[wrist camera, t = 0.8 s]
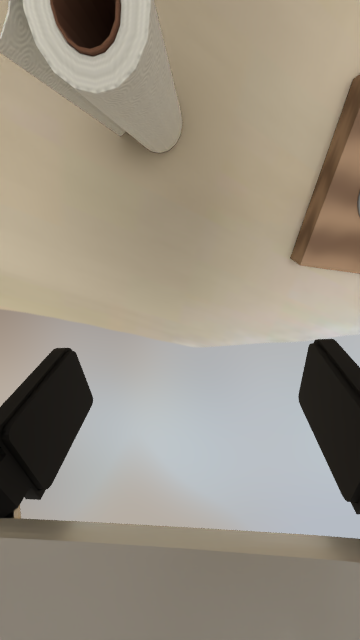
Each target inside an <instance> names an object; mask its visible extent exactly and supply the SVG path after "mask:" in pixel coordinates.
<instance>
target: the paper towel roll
mask: <svg viewBox="0 0 360 640" xmlns="http://www.w3.org/2000/svg"><path fill="white" fill-rule="evenodd" d="M0 53H2V54H3V55H4V56H6V57H7V58H9V59H10V60H12V61H13V62H14V63H16V64H17V65H19V66H20V67H22V68H23V69H24V70H26V71H27V72H29V73H30V74H32V75H33V76H34V77H36V78H37V79H39V80H40V81H42V82H43V83H45V84H46V85H47V86H49V87H50V88H52V89H53V90H55V91H56V92H57V93H59V94H60V95H62V96H63V97H65V98H66V99H67V100H69V101H70V102H72V103H73V104H75V105H76V106H77V107H79V108H80V109H82V110H83V111H85V112H86V113H88V114H89V115H90V116H92V117H93V118H95V119H96V120H98V121H99V122H100V123H102V124H103V125H105V126H106V127H108V128H109V129H110V130H112V131H113V132H115V133H116V134H118V135H119V136H120V137H121V136H122V135H123V134H124V133H125V131H126V132H127V133H129V134H130V135H131V136H132V137H133V138H135V139H136V140H137V141H138V142H140V143H141V144H142V145H143V146H145V147H146V148H147V149H148V150H150V151H152V152H157V153H161V152H165V151H168V150H170V149H171V148H172V147H173V146H174V145H175V144H176V143H177V141H178V139H179V137H180V135H181V130H182V123H183V122H182V115H181V109H180V105H179V101H178V97H177V93H176V89H175V85H174V81H173V76H172V72H171V68H170V64H169V60H168V56H167V52H166V48H165V43H164V39H163V35H162V31H161V27H160V23H159V19H158V15H157V11H156V6H155V2H154V0H9V3H8V12H7V16H6V19H5V22H4V25H3V29H2V32H1V35H0Z"/></svg>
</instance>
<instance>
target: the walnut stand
mask: <svg viewBox="0 0 360 640" xmlns="http://www.w3.org/2000/svg"><path fill="white" fill-rule="evenodd" d="M291 259H292V260H294V261H295V262H296V263H298V264H299V265H302V266H309V267H316V268H324V269H331V270H338V271H345V272H352V273H359V274H360V75H358V76H357V77H356V78H354V79H353V81H352V84H351V87H350V90H349V93H348V96H347V99H346V101H345V104H344V107H343V110H342V113H341V116H340V118H339V121H338V124H337V127H336V130H335V133H334V136H333V138H332V141H331V144H330V147H329V150H328V153H327V155H326V158H325V161H324V164H323V167H322V170H321V173H320V175H319V178H318V181H317V184H316V187H315V190H314V192H313V195H312V198H311V201H310V204H309V207H308V210H307V212H306V215H305V218H304V221H303V224H302V227H301V229H300V232H299V235H298V238H297V241H296V244H295V247H294V249H293V252H292V255H291Z"/></svg>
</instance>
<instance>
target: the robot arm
mask: <svg viewBox="0 0 360 640" xmlns="http://www.w3.org/2000/svg"><path fill="white" fill-rule="evenodd" d="M299 402H300V405H301V407H302V410H303V412H304V414H305V416H306V418H307V420H308V422H309V425H310V427H311V429H312V431H313V433H314V435H315V438H316V440H317V442H318V444H319V446H320V448H321V450H322V453H323V455H324V457H325V459H326V461H327V463H328V466H329V467H330V470H331V472H332V474H333V476H334V478H335V481H336V483H337V485H338V487H339V489H340V491H341V494H342V495H343V497H344V499H345V500H346V501H348V502H351V504H352V506H353V507H354V510H355V512H356V514H360V368H359V366H357V364H356V363H355V362H354V361H353V360H352V359H351V358H350V356H349V355H348V354H347V353H346V352H345V351H344V350H343V348H342V347H341V346H340V345H339V344H338V343H337V342H336V341H335V340H334V339H318V340H315V341H314V343H313V344H310V345H309V347H308V352H307V357H306V362H305V367H304V372H303V377H302V381H301V387H300V391H299ZM92 403H93V397H92V394H91V391H90V389H89V386H88V383H87V381H86V378H85V375H84V373H83V370H82V368H81V365H80V362H79V360H78V357H77V355H76V353H75V352H74V351H72V350H71V349H70V348H56V349H54V350H53V351H52V352H51V353H50V354H49V355H48V356H47V357H46V358H45V359H44V360H43V361H42V362H41V364H40V365H39V366H38V367H37V368H36V369H35V370H34V371H33V372H32V373H31V374H30V375H29V376H28V378H27V379H26V380H25V381H24V382H23V383H22V384H21V385H20V386H19V387H18V388H17V389H16V391H15V392H14V393H13V394H12V395H11V396H10V397H9V398H8V399H7V400H6V401H5V402H4V403H3V405H2V406H1V407H0V640H360V539H355V538H342V537H329V536H317V535H303V534H286V533H269V532H254V531H238V530H237V531H236V530H221V529H220V530H219V529H205V528H187V527H168V526H152V525H151V526H150V525H133V524H116V523H115V524H114V523H97V522H77V521H57V520H38V519H21V512H20V503H21V501H22V500H23V498H24V497H25V498H26V499H38V500H40V499H41V497H42V496H43V494H44V492H45V490H46V489H48V488H49V487H50V486H51V484H52V483H53V481H54V479H55V477H56V475H57V473H58V471H59V469H60V467H61V465H62V463H63V461H64V459H65V457H66V455H67V453H68V451H69V449H70V447H71V445H72V443H73V441H74V439H75V437H76V435H77V433H78V431H79V430H80V428H81V426H82V424H83V422H84V420H85V418H86V416H87V414H88V412H89V410H90V408H91V406H92Z"/></svg>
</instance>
